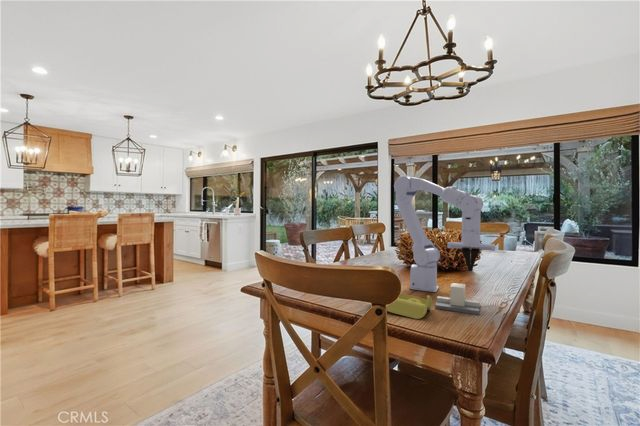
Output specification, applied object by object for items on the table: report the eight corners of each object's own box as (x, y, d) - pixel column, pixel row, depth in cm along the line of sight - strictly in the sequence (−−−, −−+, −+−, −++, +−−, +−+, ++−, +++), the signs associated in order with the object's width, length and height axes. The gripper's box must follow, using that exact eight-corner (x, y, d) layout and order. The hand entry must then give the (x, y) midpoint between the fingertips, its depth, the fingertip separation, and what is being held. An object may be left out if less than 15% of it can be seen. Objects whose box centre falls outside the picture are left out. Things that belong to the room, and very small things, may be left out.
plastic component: (433, 301, 95) (428, 294, 87) (429, 325, 93) (424, 320, 85) (372, 287, 105) (363, 280, 97) (367, 309, 103) (357, 303, 95)
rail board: (435, 308, 95) (435, 301, 95) (439, 299, 104) (439, 293, 104) (479, 314, 90) (479, 307, 90) (479, 304, 99) (479, 298, 99)
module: (450, 304, 96) (450, 286, 96) (451, 300, 100) (451, 282, 100) (464, 306, 94) (464, 288, 94) (465, 301, 98) (465, 284, 98)
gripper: (446, 230, 106) (446, 270, 106) (495, 232, 99) (495, 275, 99) (448, 229, 112) (448, 266, 112) (495, 230, 105) (494, 270, 105)
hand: (470, 270), depth 106 cm, fingers closed
